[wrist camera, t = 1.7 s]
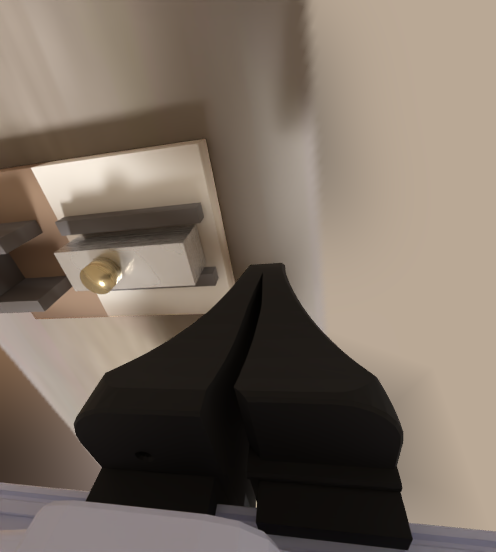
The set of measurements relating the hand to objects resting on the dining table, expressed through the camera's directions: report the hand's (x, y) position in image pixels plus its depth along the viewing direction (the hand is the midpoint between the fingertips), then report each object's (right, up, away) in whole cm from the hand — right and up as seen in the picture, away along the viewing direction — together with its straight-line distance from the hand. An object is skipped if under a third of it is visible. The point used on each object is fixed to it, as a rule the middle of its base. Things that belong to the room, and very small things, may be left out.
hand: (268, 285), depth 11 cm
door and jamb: (-10, +3, +7) cm, 12 cm away
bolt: (-7, +2, +5) cm, 9 cm away
